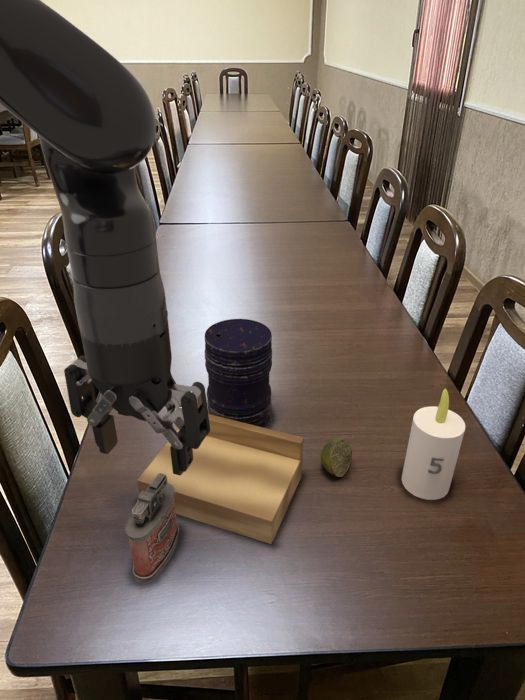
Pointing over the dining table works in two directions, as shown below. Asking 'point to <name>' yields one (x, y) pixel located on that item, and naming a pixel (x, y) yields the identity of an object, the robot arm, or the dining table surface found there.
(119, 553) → the dining table surface
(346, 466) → the lime
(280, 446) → the shelf
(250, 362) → the dark blue cylinder
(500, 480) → the dining table surface
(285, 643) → the dining table surface
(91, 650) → the dining table surface
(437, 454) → the candle
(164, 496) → the lighter
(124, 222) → the robot arm
